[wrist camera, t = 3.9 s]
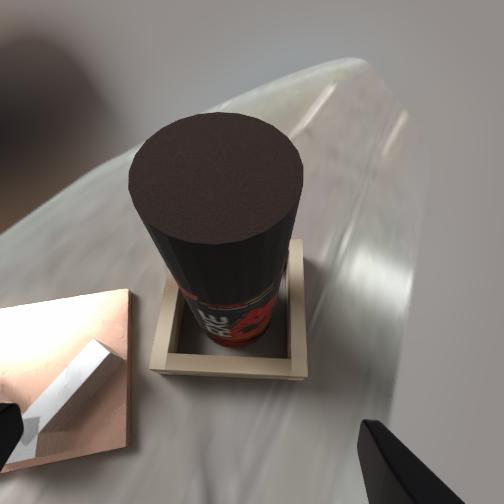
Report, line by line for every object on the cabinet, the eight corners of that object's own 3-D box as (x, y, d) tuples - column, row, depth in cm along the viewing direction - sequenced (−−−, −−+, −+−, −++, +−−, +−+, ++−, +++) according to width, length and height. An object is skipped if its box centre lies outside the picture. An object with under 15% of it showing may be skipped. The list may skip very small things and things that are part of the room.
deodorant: (270, 272, 25) (293, 110, 12) (276, 345, 22) (315, 241, 9) (198, 274, 25) (140, 113, 12) (195, 349, 22) (112, 247, 9)
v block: (-16, 316, 23) (-53, 302, 20) (131, 292, 24) (115, 275, 21) (-58, 485, 18) (-115, 497, 15) (130, 445, 19) (109, 450, 16)
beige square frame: (301, 380, 21) (307, 376, 19) (158, 373, 21) (148, 368, 19) (297, 254, 26) (301, 239, 23) (181, 249, 26) (175, 234, 24)
